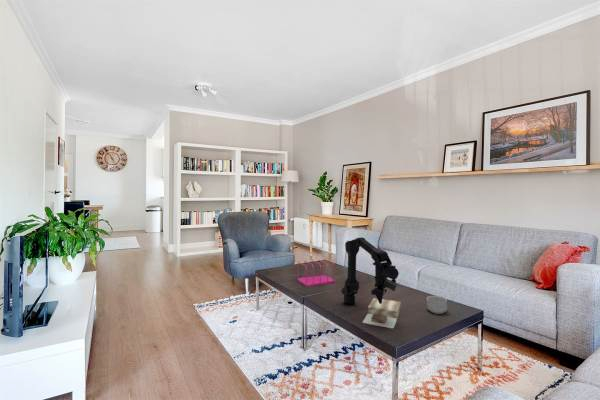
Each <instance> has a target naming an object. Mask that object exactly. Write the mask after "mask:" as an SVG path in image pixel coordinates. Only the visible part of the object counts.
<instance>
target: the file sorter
mask: <svg viewBox="0 0 600 400" xmlns="http://www.w3.org/2000/svg"><path fill="white" fill-rule="evenodd" d="M326 261H327V262H329V263H332V265H333V273H335V270H336V269H335V263H334V262H333V261H332V260H329V259H327V258H325V259H324V260H321V259H318V260H317V261H316V260H313V259H312V261H311V262H309V261H307V260H305V261H304V262H303V263H301V262H300V261H299V262H298V263H297V278H296V281H297V282H298V283H300V284H302V285H303V286H304V287H305V288H307V287H313V286H321V285H326V284H327V285H328V284H336V280H335V277H333V278H332V277H330V276H329V271H328V270H329V267H328V263H327V262H326ZM313 262H314V263H315V264H317V265H318V266H319V269H320V271H319V275H315V268H314V265H313ZM319 262H320V263H319ZM306 263H307V264H309V265H310V266H311V271H310V272H311V273H310V276H308V267H307V266H306ZM321 263H323V274H322V266H321ZM299 265H302V266H303V268H304V270H303V271H304V277H299V276H300V275H299V274H300V272H299V270H300V269H299ZM325 266H326V267H325ZM325 269H326V270H325ZM325 271H326V272H325Z"/></svg>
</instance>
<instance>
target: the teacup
mask: <svg viewBox="0 0 600 400" xmlns="http://www.w3.org/2000/svg"><path fill="white" fill-rule="evenodd" d="M447 301H448V299H447V298H446V297H444V296H443V295H429V296H427V297H426V307H427V309H428V311H430V312H431V313H432V314H438V315H441V314H444V313H446V311H447V310H448V302H447Z"/></svg>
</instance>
